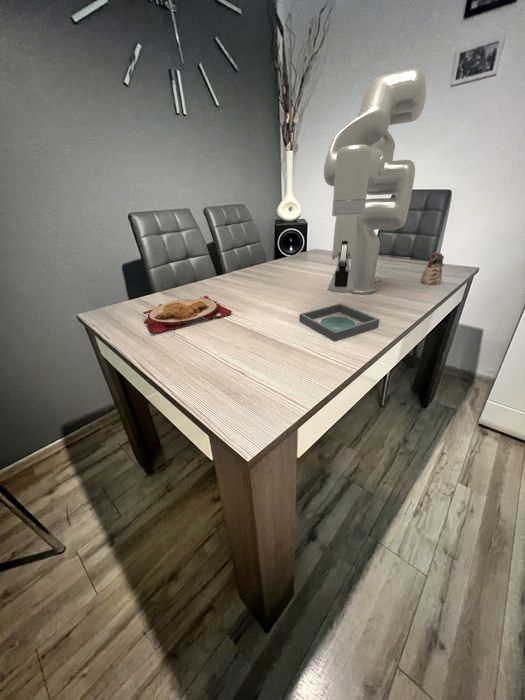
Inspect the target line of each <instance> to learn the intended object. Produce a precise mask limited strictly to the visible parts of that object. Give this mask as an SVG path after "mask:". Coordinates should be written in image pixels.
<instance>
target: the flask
mask: <svg viewBox="0 0 525 700" xmlns="http://www.w3.org/2000/svg"><path fill="white" fill-rule="evenodd" d="M349 255H350V254H349ZM340 258H341V257H339V259H340ZM346 259H348V256H347V257H346ZM336 271H337V267H336V268H335V271H334V273H333V275H332V278H331V280H330V283H329V285H328V287H327V290H328V291H330V292H331V293H336V294H337V293H339V294H346V293H350V292H353V290H354V287H353V283H352V279H351V274H350V264H349V263H348V271H349V273H348V282H347V287H335V274H336ZM345 271H346V270H345Z"/></svg>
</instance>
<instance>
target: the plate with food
mask: <svg viewBox="0 0 525 700" xmlns="http://www.w3.org/2000/svg"><path fill="white" fill-rule="evenodd" d="M217 301H218V300H212V299H211V298H209V296H208V295H204V296H203V297H202V296H200V298H185V299H180V300H173V301H169V302H165V303H163V304H161V303H160V304H159V305H158V306H157V307H155V308H153V309H149V310H146V311H144V312H142V313H143V314H144V315H147V317H146V318H144V322H143V323H144V324H147V325H146V328H147V329H148V331H150V334H154V333H156V334H157V333H163V331H167V330H171V331H175V330H176V329H178V328H180V327H185V326H188V325H196V323H195V322H190V321H192V320H195V319H199V318H202V319H203V320H202V321H201V323H203V322H208V321H215V320H217V319H218V318H221V317H225V316H228V315H230V314H232V312H233V310H230V309H229V308H227V307H225V306H223V305H221V304H220V303H217ZM143 314H142V315H143ZM217 314H220V315H217ZM187 322H189V323H187Z"/></svg>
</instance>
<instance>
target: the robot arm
mask: <svg viewBox="0 0 525 700" xmlns="http://www.w3.org/2000/svg"><path fill="white" fill-rule="evenodd" d="M426 85H427V84H426V77H425V74H424V72H423V71H422V70H421V69H420V68H416V67H413V68H409V69H404V70H398V71H394V72H391V73H390V72H389V73H386V74H385V73H384V74H383V75H382V74H381V75H379V76H377V77H376V78H374V79H373V80H372V81H371V82H370V83H369V85H368V86H367V88H366V91H365V93H364V96H363V98H362V103H361V105H360V108H359V111H358V114H357V117H356V118H354V119H353V120H351V121H350V122H349V123H348V124H347V125H346V126H345V127H343V128H342V129H340V130H339V132H338V133H336V135H335V136H334V138H333V139H332V141H331V143H330V145H329V149H328V152H327V155H326V157H325V160H324V164H323V166H324V167H323V177H324V180H325V182H326V185H329V186H330V187H333V199H332V200H333V201H332V210H331V213H332V214H331V216H332V217H335V224H334V231H333V233H334V234H333V246H332V254H331V259H332V260H335V259H337V262H336V263H337V264H336V268H337V271H336V274H335V287H347V282H348V273H349V271H348V263H349V262H350V264H349V270H350V274H351V279H352V283H353V287H354V290H353V292H349V293H350V294H357V295H368V294H373V293H376V292H377V291H378V286H377V285H376V284H377V283H380V282H382V281H383V277H381V276H378V277H376V269H377V265H378V259H379V258H378V257H379V253H380V252H379V251H380V245H381V242H380V238H379V236H378V235H377V233H376V232H375V230H398V229H399V230H400V229H402V227H404V226H405V224H406V221H407V218H408V213H409V210H410V203H411V197H412V193H413V187H414V182H415V177H416V166H415V163H414V161H413V160H410V159H400V160H399V159H398V160H394V154H395V148H396V142H395V140H394V138H393V136H392V134H391V133H390V131H388V130H389V127H390V126H392V125H393V126H394V125H399V124H406V123H411V122H415V121H417V120H418V119H419V118H420V117H421V115H422V113H423V110H424V107H425V104H426V95H427V93H426V92H427V91H426V90H427V88H426ZM367 195H368V196H385V195H387V196H388V195H390V196H391V195H394V196H395V197H388V198H387V197H384V198H383V197H382V198H381V197H379V198H367ZM349 254H350V255H349ZM347 256H348V259H346V257H347ZM339 257H341V258H340V259H339ZM345 270H346V271H345Z"/></svg>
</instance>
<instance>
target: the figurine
mask: <svg viewBox="0 0 525 700" xmlns="http://www.w3.org/2000/svg"><path fill="white" fill-rule="evenodd" d="M431 256H432V257H431V258H429V260H428V263H427V265H426V267H425V268H424V271H423V272H422V275H421V278H420V282H422V283H421V284H423V283H424V284H423V285H426V284H430V285H429V286H438V285H437V284H439V285H440V284H441V281H442V276H443V275H442V272H443V268H442V267H444V265H445V264H444V262H443V261H444V258H445V256H444V255H443V254H442V253H441V252H433V253H431Z"/></svg>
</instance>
